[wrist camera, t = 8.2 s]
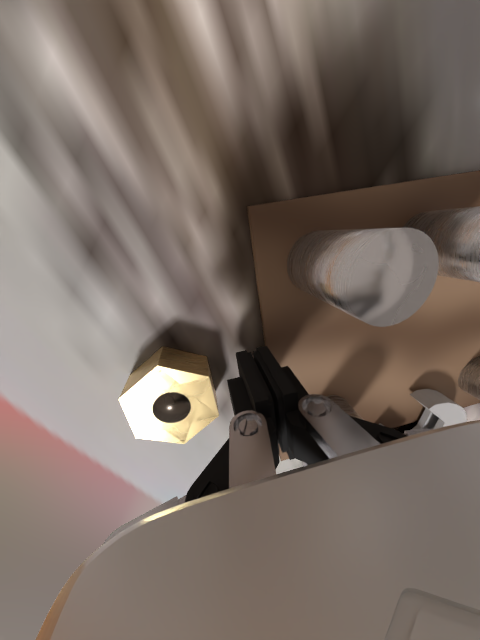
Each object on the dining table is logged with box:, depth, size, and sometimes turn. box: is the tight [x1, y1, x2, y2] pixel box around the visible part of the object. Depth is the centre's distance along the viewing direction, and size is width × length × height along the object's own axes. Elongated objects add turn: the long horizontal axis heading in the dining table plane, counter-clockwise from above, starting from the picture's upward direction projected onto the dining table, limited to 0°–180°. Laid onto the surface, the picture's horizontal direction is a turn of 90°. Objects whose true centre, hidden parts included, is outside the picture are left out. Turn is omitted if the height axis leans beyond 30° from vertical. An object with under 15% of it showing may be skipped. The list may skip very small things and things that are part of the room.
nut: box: [119, 346, 219, 444], centre depth 12 cm, size 4×5×2 cm
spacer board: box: [247, 170, 480, 461], centre depth 14 cm, size 16×18×1 cm
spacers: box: [287, 206, 480, 420], centre depth 12 cm, size 13×15×5 cm
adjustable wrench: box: [379, 389, 467, 430], centre depth 20 cm, size 25×6×2 cm, turn 25°
